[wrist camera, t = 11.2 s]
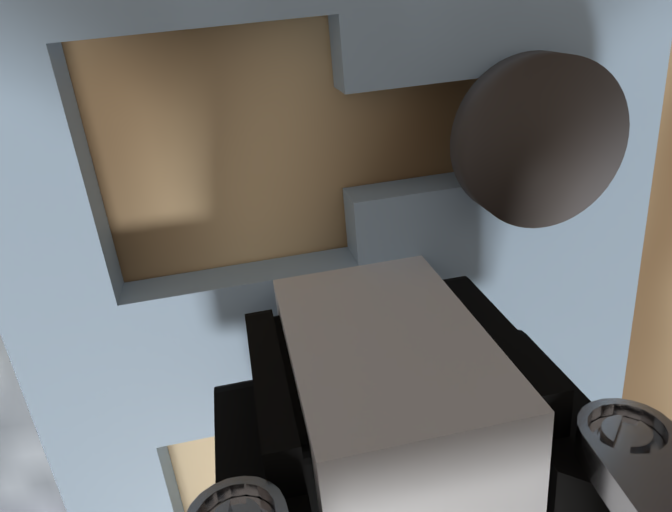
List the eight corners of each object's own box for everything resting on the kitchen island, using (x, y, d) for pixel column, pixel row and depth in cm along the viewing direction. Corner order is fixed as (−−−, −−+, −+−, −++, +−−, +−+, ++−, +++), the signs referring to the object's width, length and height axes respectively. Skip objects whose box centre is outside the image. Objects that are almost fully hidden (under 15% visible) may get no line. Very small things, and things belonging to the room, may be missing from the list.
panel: (650, -90, 11) (1077, -177, 6) (582, 501, 17) (755, 730, 12) (-103, -28, 9) (-550, -71, 4) (123, 611, 15) (79, 944, 10)
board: (757, -63, 13) (944, -85, 10) (667, 427, 19) (767, 519, 16) (-54, 11, 11) (-171, 15, 7) (125, 551, 17) (105, 692, 13)
